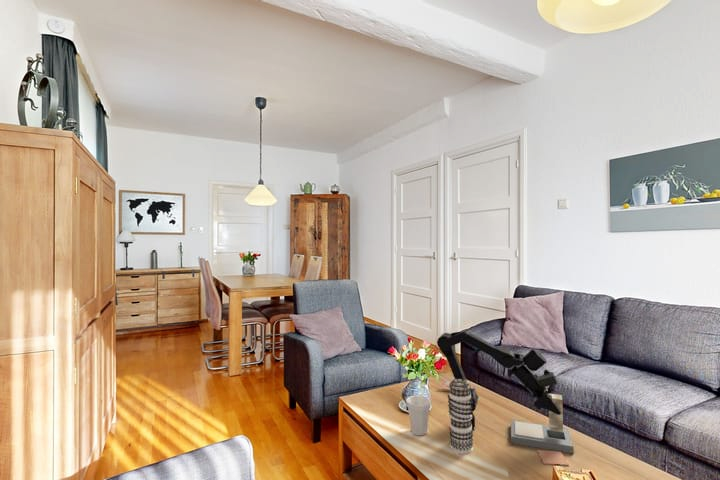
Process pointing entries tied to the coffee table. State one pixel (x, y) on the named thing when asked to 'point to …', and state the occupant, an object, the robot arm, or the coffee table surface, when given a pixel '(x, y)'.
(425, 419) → the cup
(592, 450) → the coffee table surface
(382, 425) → the coffee table surface
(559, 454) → the pad
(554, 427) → the block
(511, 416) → the coffee table surface
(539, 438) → the puzzle board
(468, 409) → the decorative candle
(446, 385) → the rabbit figure
